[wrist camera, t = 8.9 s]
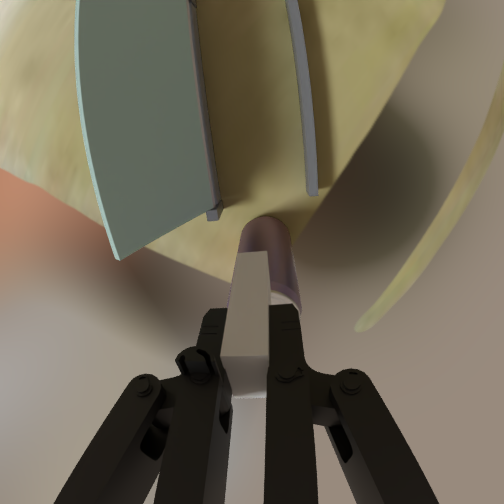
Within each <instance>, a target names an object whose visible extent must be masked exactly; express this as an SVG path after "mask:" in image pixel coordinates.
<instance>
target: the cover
mask: <svg viewBox="0 0 504 504" xmlns="http://www.w3.org/2000/svg"><path fill="white" fill-rule="evenodd" d="M75 72H76V85H77V96H78V105H79V113H80V120H81V127H82V133H83V139H84V144H85V150H86V155H87V160H88V164H89V169H90V173H91V178H92V182H93V186H94V190H95V194H96V198H97V201H98V205H99V209H100V212H101V216H102V219H103V222H104V226H105V229H106V232H107V235H108V238H109V241H110V244H111V247H112V250H113V253H114V256H115V258H116V259H117V260H122V259H124V258H125V257H127V256H128V255H130V254H132V253H134V252H135V251H137V250H139V249H140V248H142V247H144V246H145V245H147V244H149V243H151V242H152V241H154V240H156V239H158V238H159V237H161V236H163V235H165V234H166V233H168V232H170V231H172V230H173V229H175V228H177V227H179V226H181V225H182V224H184V223H186V222H188V221H190V220H192V219H193V218H195V217H197V216H199V215H201V214H203V213H205V212H206V211H208V210H210V209H212V208H214V207H216V206H215V200H214V193H213V187H212V181H211V175H210V168H209V162H208V155H207V149H206V142H205V135H204V128H203V121H202V114H201V106H200V99H199V91H198V83H197V75H196V67H195V58H194V50H193V41H192V31H191V21H190V11H189V0H76V9H75Z"/></svg>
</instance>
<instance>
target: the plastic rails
mask: <svg viewBox="0 0 504 504" xmlns="http://www.w3.org/2000/svg"><path fill="white" fill-rule="evenodd" d="M285 2H286V8H287V13H288V19H289V25H290V31H291V38H292V44H293V51H294V59H295V66H296V74H297V82H298V91H299V100H300V110H301V120H302V132H303V144H304V158H305V173H306V191H307V193H308V195H309V196H318V175H317V156H316V140H315V127H314V115H313V104H312V95H311V86H310V77H309V69H308V61H307V54H306V47H305V41H304V34H303V28H302V22H301V17H300V11H299V6H298V1H297V0H285ZM196 8H197V5H196V0H189V11H190V21H191V31H192V41H193V50H194V58H195V67H196V75H197V83H198V91H199V99H200V106H201V114H202V121H203V128H204V135H205V142H206V149H207V155H208V162H209V168H210V175H211V181H212V187H213V193H214V200H215V206H216V207H214V208H212V209H210V210H208V211H206V215H207V221H217V220H219V218H220V216H221V213H222V211H223V204H222V200H220V199H221V196H220V190H219V183H218V177H217V170H216V163H215V157H214V150H213V143H212V136H211V129H210V121H209V114H208V107H207V99H206V91H205V83H204V75H203V67H202V59H201V50H200V42H199V33H198V24H197V14H196Z"/></svg>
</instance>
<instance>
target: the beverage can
mask: <svg viewBox="0 0 504 504" xmlns="http://www.w3.org/2000/svg"><path fill="white" fill-rule="evenodd" d="M258 251H267V255H268V266H269V276H270V287H271V305H277V304H290V303H293V305H294V306H295V307H296V309H297V310H298V311H299V319H300V316H301V311H302V306H301V300H300V293H299V287H298V280H297V275H296V268H295V262H294V257H293V251H292V245H291V239H290V234H289V231H288V229H287V227H286V226H285V225H284V224H283V223H282V222H281V221H280V220H278V219H276V218H273V217H267V216H264V217H258V218H255V219H253V220H251V221H250V222H248V223H247V224H246V225H245V227H244V228H243V230H242V233H241V238H240V243H239V247H238V252H237V253H245V252H258ZM236 259H237V257H236ZM235 264H236V262H235ZM234 270H235V267H234ZM233 276H234V273H233ZM232 282H233V278H232ZM231 287H232V283H231ZM230 293H231V288H230ZM230 293H229V298H228V303H227V308H228V305H229V299H230Z"/></svg>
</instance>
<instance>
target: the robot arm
mask: <svg viewBox="0 0 504 504" xmlns="http://www.w3.org/2000/svg"><path fill="white" fill-rule="evenodd" d="M175 362H176V364H177V366H178V368H179V370H180V372H181V375H179V376H176V377H173V378H169V379H164V380H158V378H157V377H155V376H154V375H152V374H142V375H139V376H137V377H135V378H133V379H132V380H131V382H130V383H129V384H128V386H127V387H126V389H125V390H124V392H123V393H122V395H121V396H120V398H119V399H118V401H117V402H116V404H115V405H114V407H113V408H112V410H111V411H110V413H109V414H108V416H107V418H106V419H105V421H104V422H103V424H102V425H101V427H100V428H99V430H98V431H97V433H96V435H95V436H94V438H93V439H92V441H91V443H90V444H89V446H88V447H87V449H86V450H85V452H84V454H83V455H82V457H81V459H80V460H79V462H78V463H77V465H76V467H75V468H74V470H73V472H72V473H71V475H70V477H69V478H68V480H67V482H66V483H65V485H64V487H63V488H62V490H61V492H60V493H59V495H58V497H57V499H56V501H55V502H54V504H143V503H144V501H145V499H146V497H147V495H148V493H149V491H150V489H151V487H152V486H153V484H154V482H155V479H156V478H157V476H158V474H159V478H158V483H157V489H156V493H155V498H154V504H224V502H225V490H226V479H227V468H228V458H229V447H230V437H231V425H232V415H233V409H232V404H231V397H232V394H233V397H234V398H266V443H265V480H264V504H318V487H317V470H316V456H315V443H314V430H313V424H317V425H322V426H324V427H325V429H326V431H327V434H328V436H329V439H330V441H331V443H332V446H333V448H334V450H335V453H336V455H337V458H338V460H339V462H340V465H341V467H342V470H343V472H344V474H345V477H346V479H347V482H348V484H349V486H350V489H351V491H352V493H353V496H354V498H355V501H356V503H357V504H439V502H438V501H437V499H436V497H435V495H434V493H433V491H432V489H431V487H430V485H429V483H428V481H427V479H426V477H425V475H424V473H423V471H422V470H421V468H420V466H419V464H418V462H417V460H416V458H415V456H414V455H413V453H412V451H411V449H410V447H409V446H408V444H407V442H406V440H405V438H404V437H403V435H402V433H401V431H400V429H399V428H398V426H397V424H396V423H395V421H394V419H393V417H392V415H391V414H390V412H389V410H388V408H387V407H386V405H385V403H384V402H383V400H382V398H381V396H380V395H379V393H378V391H377V390H376V388H375V386H374V385H373V383H372V381H371V380H370V378H369V377H368V376H367V375H366V374H365V373H364V372H362V371H360V370H358V369H345V370H342V371H340V372H338V373H337V374H336V375H329V374H323V373H320V372H317V371H315V370H313V369H311V368H310V367H309V366H308V365H307V363H306V361H305V358H304V350H303V342H302V334H301V326H300V319H299V311H298V310H297V309H296V307H295V306H294V305H293V303H290V304H277V305H271V287H270V276H269V266H268V255H267V251H258V252H245V253H237V259H236V264H235V270H234V276H233V282H232V287H231V293H230V299H229V305H228V308H216V309H210V310H209V311H208V312H207V313H206V315H205V316H204V317H203V321H202V325H201V329H200V333H199V336H198V340H197V345H196V346H194V347H189V348H187V349H185V350H183V351H182V352H181V353H179V354H178V356H177V358H176V359H175ZM159 472H160V473H159Z"/></svg>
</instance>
